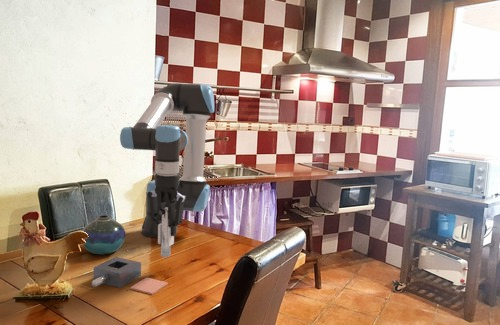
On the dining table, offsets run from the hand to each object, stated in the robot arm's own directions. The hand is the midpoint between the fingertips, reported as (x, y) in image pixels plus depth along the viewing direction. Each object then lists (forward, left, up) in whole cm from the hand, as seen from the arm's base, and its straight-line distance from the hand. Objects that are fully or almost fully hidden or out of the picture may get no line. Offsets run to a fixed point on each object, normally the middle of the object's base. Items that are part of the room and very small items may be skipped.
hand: (165, 243), depth 130 cm
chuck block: (+14, -10, -10) cm, 20 cm away
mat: (+12, +2, -10) cm, 15 cm away
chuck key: (0, 0, -4) cm, 4 cm away
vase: (-4, -30, -10) cm, 32 cm away
